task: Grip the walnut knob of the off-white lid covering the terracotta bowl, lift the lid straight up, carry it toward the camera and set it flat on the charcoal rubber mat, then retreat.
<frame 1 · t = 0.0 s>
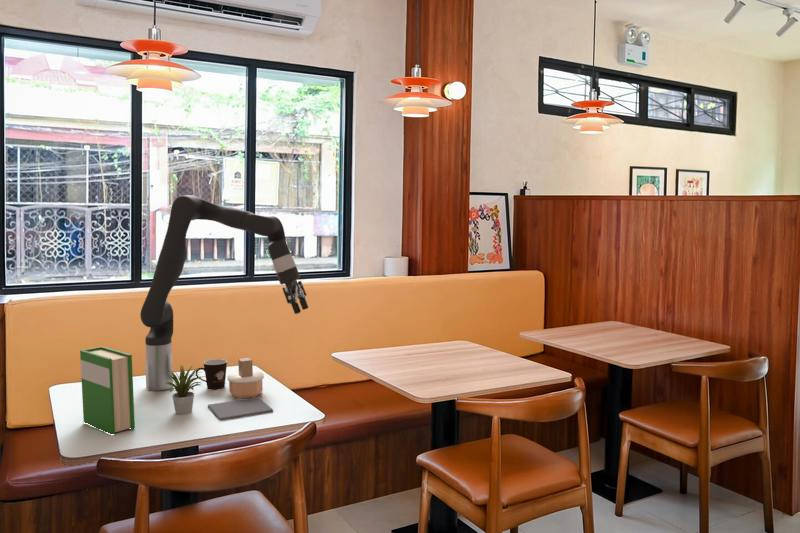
hand: (302, 311, 239), 31 cm above the table, tool tilted 20°, fingers open, 8 cm apart
mat: (240, 409, 227), on the table
bowl: (246, 394, 244), on the table
hardback book: (109, 427, 210), on the table
lid: (245, 378, 244), point 6 cm above the table, touching bowl
house plant: (182, 414, 223), on the table
coffee mug: (211, 388, 252), on the table
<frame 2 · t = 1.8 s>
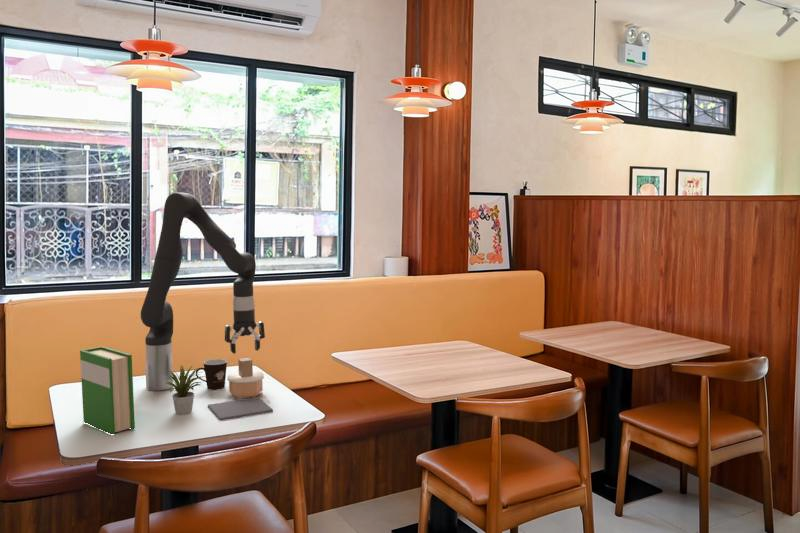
hand: (245, 351, 243), 16 cm above the table, tool pointing down, fingers open, 8 cm apart
nothing on the table moved.
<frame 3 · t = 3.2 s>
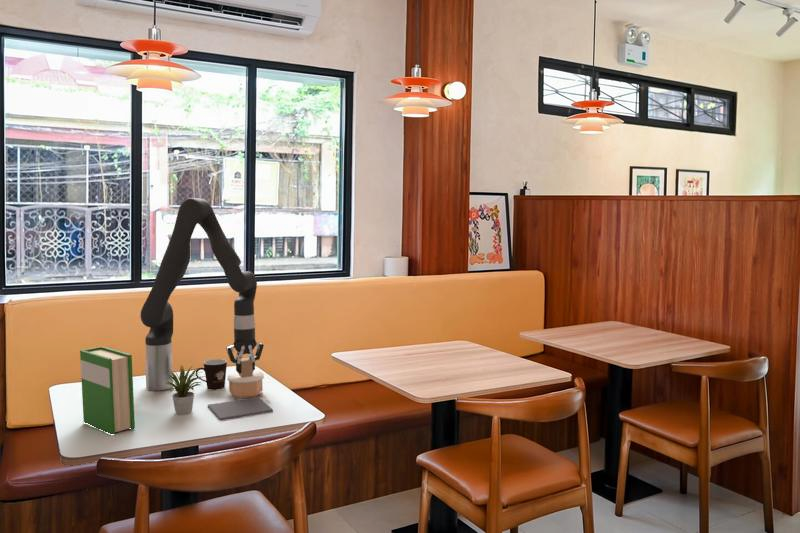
hand: (245, 372, 244), 8 cm above the table, tool pointing down, fingers closed on lid, 4 cm apart
lid: (245, 378, 244), point 6 cm above the table, touching bowl, gripper
everything else where it was.
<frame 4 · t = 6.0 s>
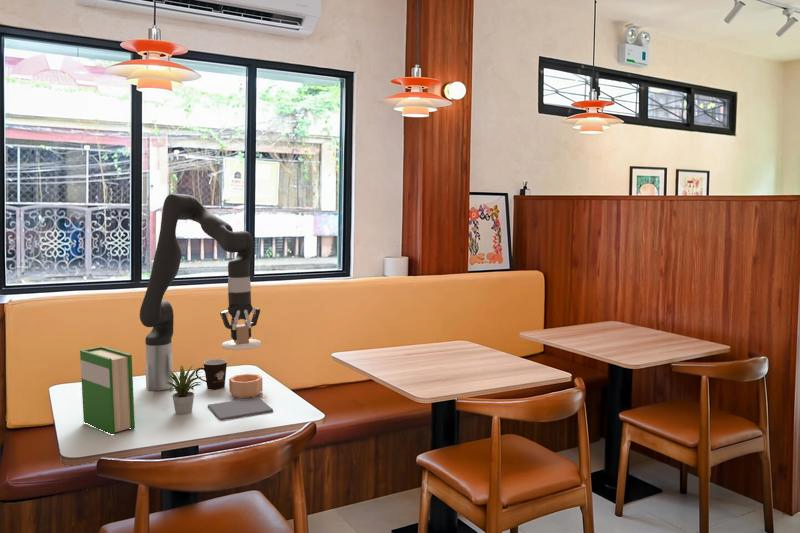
hand: (241, 339, 228), 24 cm above the table, tool pointing down, fingers closed on lid, 4 cm apart
lid: (241, 345, 228), point 22 cm above the table, touching gripper
everything else where it was.
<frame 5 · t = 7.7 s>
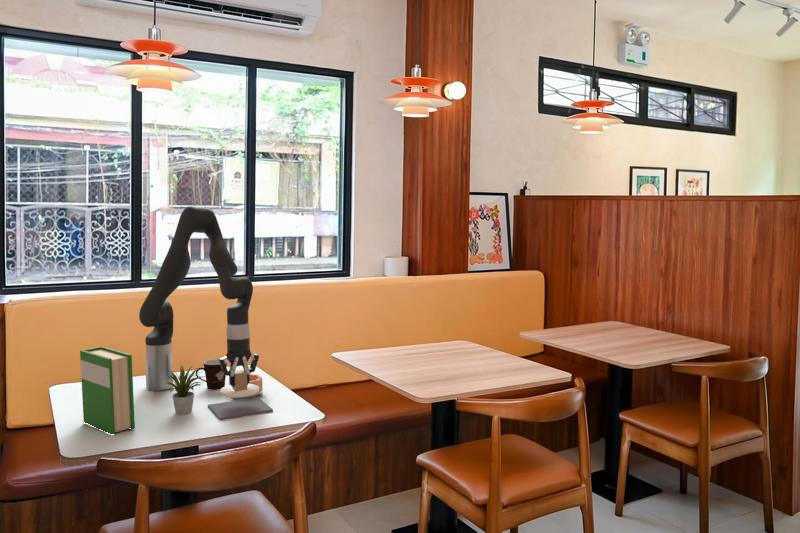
hand: (239, 385, 226), 8 cm above the table, tool pointing down, fingers closed on lid, 4 cm apart
lid: (239, 391, 227), point 6 cm above the table, touching gripper
everything else where it was.
when the fingers open (4 cm above the table, at t = 9.0 s): lid drops 1 cm, resting on mat.
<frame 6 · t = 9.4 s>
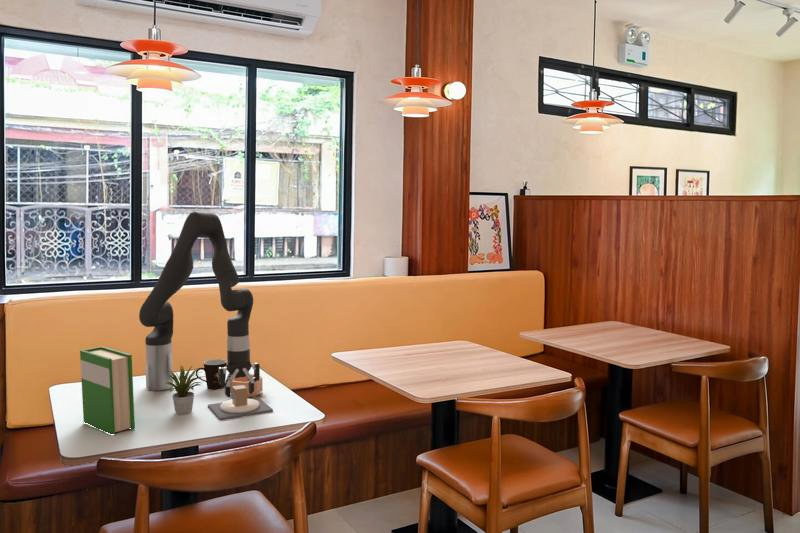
hand: (239, 395, 227), 5 cm above the table, tool pointing down, fingers open, 7 cm apart
lid: (240, 407, 227), point 1 cm above the table, touching mat
everything else where it was.
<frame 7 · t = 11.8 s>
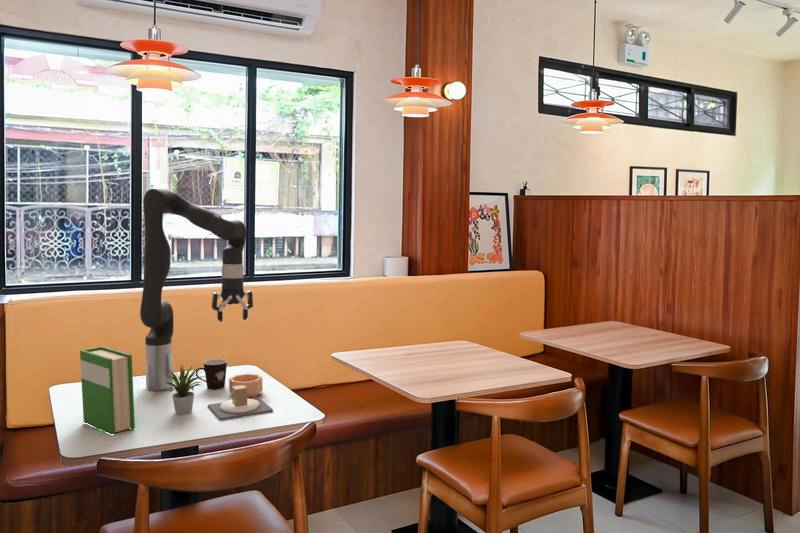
hand: (232, 320, 239), 28 cm above the table, tool pointing down, fingers open, 8 cm apart
nothing on the table moved.
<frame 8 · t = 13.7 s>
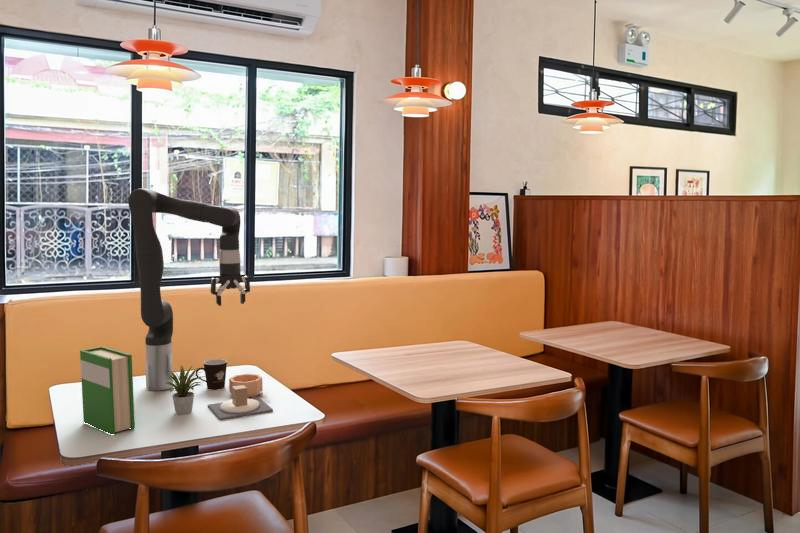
hand: (230, 304, 249), 32 cm above the table, tool pointing down, fingers open, 8 cm apart
nothing on the table moved.
at the end: lid inside the target area on the mat (0.0 cm from its centre), point 0.8 cm above the mat's base; lid tilted 0°; the gripper is holding nothing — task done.
